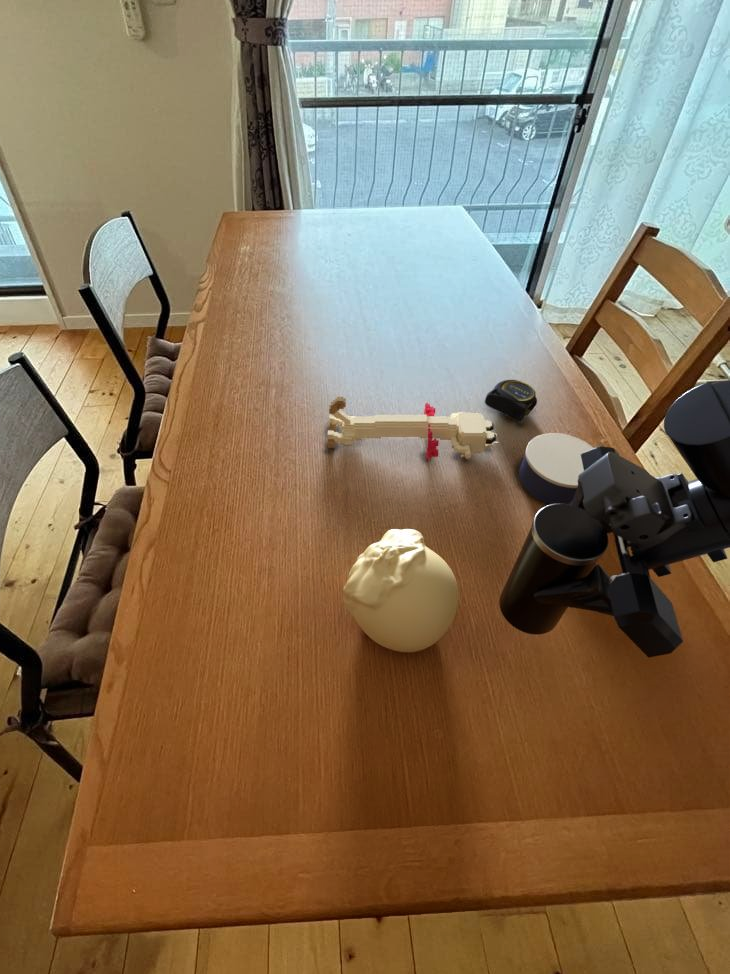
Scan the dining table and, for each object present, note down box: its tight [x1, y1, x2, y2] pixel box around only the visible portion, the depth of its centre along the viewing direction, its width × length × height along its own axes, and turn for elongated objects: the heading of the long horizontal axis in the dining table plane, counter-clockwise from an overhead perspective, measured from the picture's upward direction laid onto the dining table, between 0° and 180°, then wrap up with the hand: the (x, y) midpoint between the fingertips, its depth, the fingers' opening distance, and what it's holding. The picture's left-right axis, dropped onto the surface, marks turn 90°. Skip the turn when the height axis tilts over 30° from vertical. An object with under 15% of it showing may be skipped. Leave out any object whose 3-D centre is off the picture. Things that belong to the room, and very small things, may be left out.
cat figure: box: [327, 396, 499, 461], centre depth 81 cm, size 10×9×25 cm
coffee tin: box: [518, 432, 595, 505], centre depth 78 cm, size 10×10×4 cm
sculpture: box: [342, 528, 459, 653], centre depth 60 cm, size 12×12×11 cm
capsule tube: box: [498, 504, 609, 636], centre depth 52 cm, size 6×6×13 cm
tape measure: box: [484, 379, 538, 423], centre depth 89 cm, size 7×7×4 cm
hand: (533, 569), depth 52 cm, fingers closed on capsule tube, 6 cm apart
